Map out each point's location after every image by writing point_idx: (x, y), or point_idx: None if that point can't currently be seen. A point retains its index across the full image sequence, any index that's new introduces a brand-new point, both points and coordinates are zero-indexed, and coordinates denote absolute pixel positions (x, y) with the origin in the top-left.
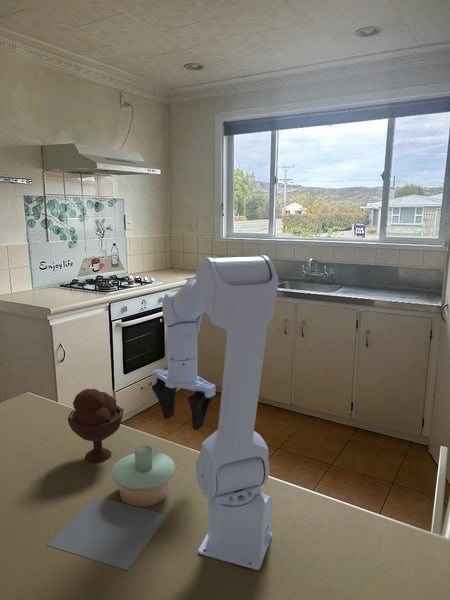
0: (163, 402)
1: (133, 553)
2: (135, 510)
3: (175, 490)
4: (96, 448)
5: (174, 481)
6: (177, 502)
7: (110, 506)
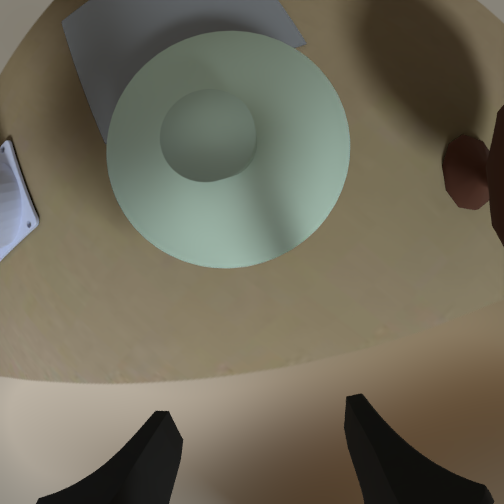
0: (378, 462)
1: (77, 37)
2: None
3: None
4: (484, 164)
5: None
6: None
7: None
